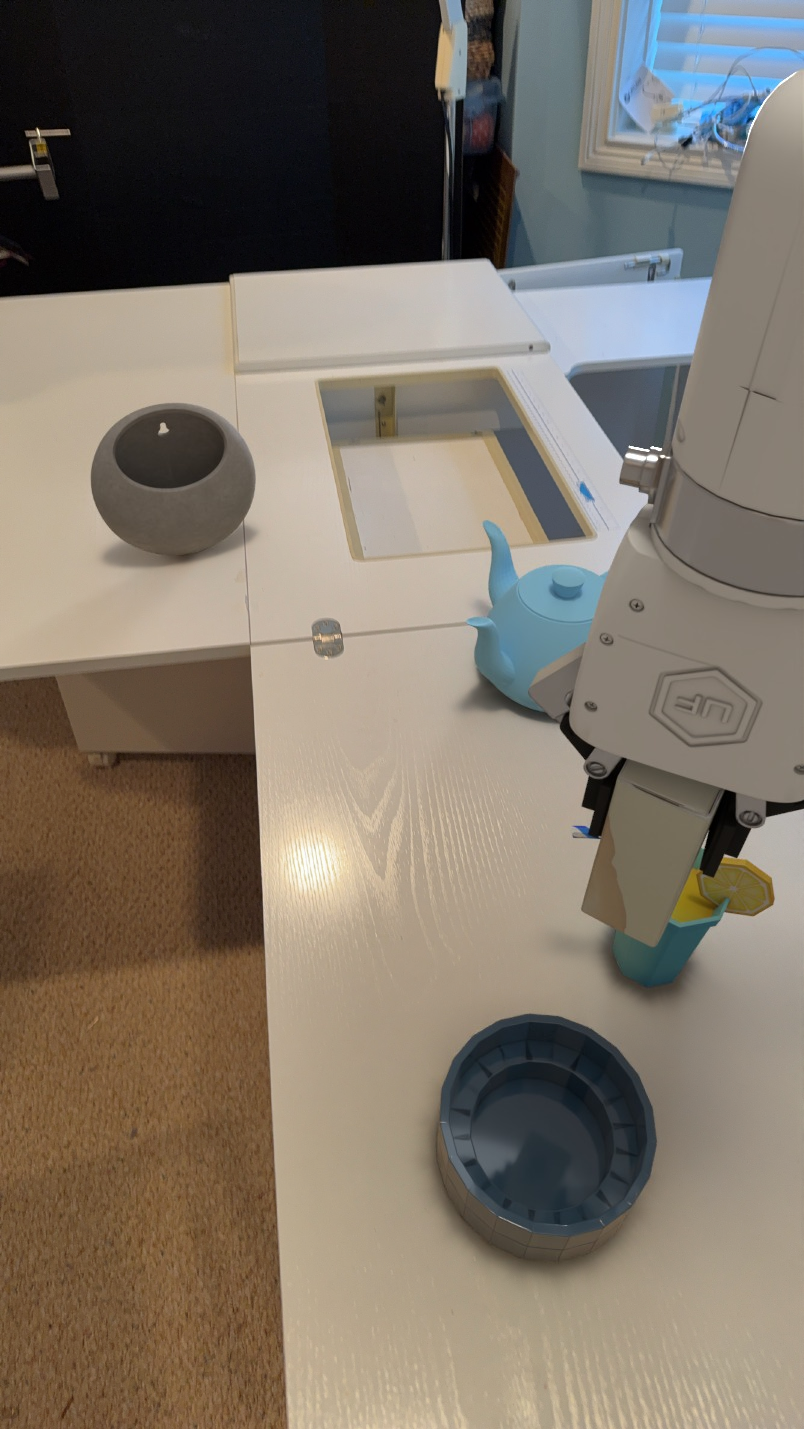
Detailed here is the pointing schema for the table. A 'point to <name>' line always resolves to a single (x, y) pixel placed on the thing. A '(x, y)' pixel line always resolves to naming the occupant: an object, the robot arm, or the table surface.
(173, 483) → the planter
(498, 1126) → the round ribbed tray
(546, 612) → the teapot
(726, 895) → the cup
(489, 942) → the table surface
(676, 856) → the box
